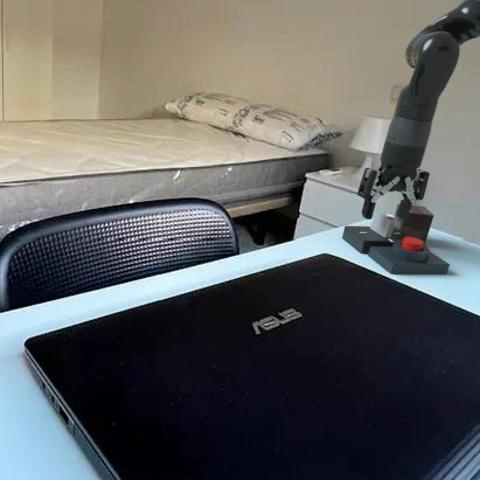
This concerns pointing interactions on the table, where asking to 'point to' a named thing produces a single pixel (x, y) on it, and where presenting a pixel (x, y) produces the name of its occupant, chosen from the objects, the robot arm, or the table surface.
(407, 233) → the box
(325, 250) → the table surface
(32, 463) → the table surface
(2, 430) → the table surface
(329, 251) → the table surface
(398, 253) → the button block
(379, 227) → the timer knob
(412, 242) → the power button
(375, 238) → the panel
